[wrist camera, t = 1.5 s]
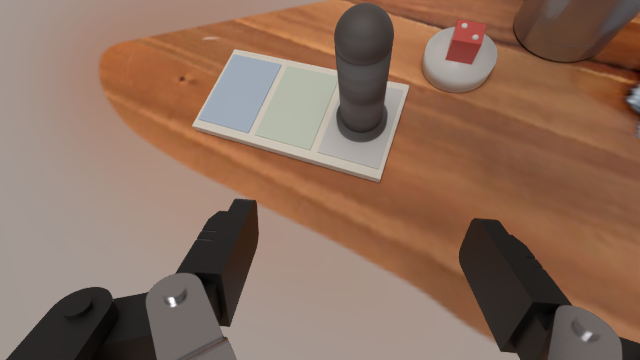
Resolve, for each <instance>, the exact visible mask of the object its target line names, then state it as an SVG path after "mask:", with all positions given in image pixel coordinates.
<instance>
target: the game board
mask: <svg viewBox="0 0 640 360" xmlns="http://www.w3.org/2000/svg"><path fill="white" fill-rule="evenodd" d="M408 89H409V85H405V84H400V83H395V82H390V81H387V88H386V95H385V102H384V104H385V106H386V108H387V112H388V118H387V124H386V127H385V129H384V131H383V133H382V134H381V135H380V136H379V137H377V138H376V139H374V140H372V141H369V142H354V141H351V140H349V139H347V138H345V137H344V136H343V135H342V134H341V133H340V131H339V129H338V126H337V120H336V113H337V109H338V107H339V105H340V98H339V87H338V75H337V70H333V69H328V68H323V67H318V66H313V65H309V64H304V63H299V62H294V61H289V60H285V59H280V58H275V57H270V56H266V55H261V54H256V53H251V52H246V51H242V50H237V49H235V50H234V51H233V53H232V55H231V57H230V59H229V60H228V62H227V64H226V66H225V68H224V69H223V71H222V73H221V75H220V77H219V78H218V80H217V82H216V84H215V86H214V87H213V89H212V91H211V93H210V94H209V96H208V98H207V100H206V102H205V103H204V105H203V107H202V109H201V111H200V112H199V114H198V116H197V118H196V120H195V121H194V123H193V125H192V126H193V127H194V128H195V129H196V130H197V131H201V132H204V133H208V134H211V135H215V136H218V137H222V138H225V139H228V140H232V141H235V142H239V143H242V144H246V145H249V146H253V147H256V148H260V149H263V150H267V151H270V152H274V153H277V154H280V155H284V156H287V157H291V158H294V159H298V160H301V161H305V162H308V163H312V164H315V165H319V166H322V167H326V168H329V169H332V170H336V171H339V172H343V173H346V174H350V175H353V176H357V177H360V178H364V179H367V180H371V181H374V182H377V183H380V179H381V176H382V173H383V170H384V167H385V163H386V160H387V157H388V154H389V151H390V147H391V144H392V141H393V138H394V135H395V131H396V128H397V125H398V122H399V119H400V115H401V112H402V109H403V106H404V102H405V99H406V96H407V93H408Z"/></svg>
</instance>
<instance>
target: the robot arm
mask: <svg viewBox="0 0 640 360" xmlns="http://www.w3.org/2000/svg"><path fill="white" fill-rule="evenodd" d="M639 12H640V0H525V1H524V3H523V5H522V7H521V8H520V10H519V12H518V14H517V16H516V17H515V21H514V31H515V34H516V36H517V38H518V39H519V41H520V42H521V44H522V45H524V46H525V47H526V48H527V49H528V50H530V51H531V52H533V53H534V54H536V55H538V56H541V57H543V58H546V59H550V60H554V61H562V62H573V61H580V60H584V59H587V58H590V57H592V56H594V55H596V54H597V53H598V52H600V51H601V50H602V49H603V48H604V47H605V46H606V45H607V44H608V43H609V42H610V41H611V40H612V39H613V38H614V37H615V36H616V35H617V34H618V33H619V32H620V31H621V30H622V29H623V28H624V27H625V26H626V25H627V24H628V23H629V22H630V21H631V20H632V19H633V18H634V17H635V16H636V15H637V14H638V13H639ZM258 235H259V231H258V215H257V202H256V200H248V199H235V200H234V201H233V203H232V205H231V207H230V209H229V210H228V211H219V212H217V213H216V214H215V215H213V216H212V217H211V218H209V219H208V221H207V223H206V224H205V226H204V228H203V229H202V231H201V232H200V234H199V236H198V237H197V240H196V241H195V242H194V244H193V245H192V247H191V249H190V250H189V252H188V254H187V255H186V257H185V259H184V260H183V262H182V263H181V265H180V267H179V268H178V270H177V272H176V273H175V274H173V275H170V276H168V277H165V278H163V279H162V280H160V281H159V282H157V283H156V284H155V285H154V286H153V287H152V288H151V289H150V291H149V292H147V293H143V294H138V295H133V296H127V297H122V298H116V299H113V298H112V295H111V293H110V292H109V291H108V290H106V289H104V288H100V287H91V288H85V289H82V290H79V291H76V292H74V293H71V294H70V295H68V296H66V297H64V298H63V299H61V300H60V301H59V302H57V304H55V305H54V306H53V307H52V308H51V309H50V310H49V311H48V312H47V314H46V315H45V316H44V317H43V318H42V319H41V320H40V321H39V323H38V324H37V325H36V326H35V327H34V328H33V330H32V331H31V332H30V333H29V334H28V335H27V336H26V337H25V339H24V340H23V341H22V342H21V343H20V344H19V345H18V347H17V348H16V349H15V350H14V351H13V352H12V353H11V355H10V356H9V357H8V358H7V359H6V360H237V359H236V356H235V354H234V352H233V349H232V347H231V344H230V343H229V341H228V339H227V338H226V337H224V336H223V334H222V331H221V329H220V326H227V327H230V325H231V322H232V319H233V316H234V313H235V310H236V307H237V304H238V301H239V298H240V295H241V292H242V289H243V286H244V283H245V281H246V278H247V274H248V272H249V269H250V266H251V263H252V260H253V257H254V254H255V251H256V248H257V243H258ZM459 262H460V265H461V268H462V270H463V272H464V274H465V276H466V278H467V281H468V283H469V285H470V287H471V289H472V291H473V293H474V296H475V298H476V300H477V302H478V304H479V306H480V308H481V311H482V313H483V315H484V317H485V319H486V321H487V323H488V326H489V328H490V330H491V332H492V334H493V336H494V338H495V340H496V343H497V345H498V347H499V349H500V351H501V352H511V353H517V354H518V356H519V358H520V360H640V344H639V343H636V342H633V341H630V340H627V339H624V338H621V337H618V335H617V334H616V333H615V331H614V330H613V329H612V328H611V327H610V326H609V325H608V324H607V323H606V322H605V321H603V320H602V319H601V318H599V317H598V316H596V315H595V314H593V313H591V312H589V311H587V310H585V309H582V308H579V307H576V306H573V305H572V304H571V303H570V302H569V300H568V299H567V298H566V296H565V295H564V294H563V293H562V291H561V290H560V289H559V287H558V286H557V285H556V284H555V282H554V281H553V280H552V278H551V277H550V276H549V275H548V273H547V272H546V271H545V270H543V269H542V266H541V264H540V263H539V262H538V261H537V260H535V257H534V255H533V254H532V253H531V252H530V250H529V249H528V248H527V246H526V245H524V244H523V243H522V242H521V241H519V240H518V239H517V238H515V237H514V236H513V235H509V234H508V232H507V231H506V230H505V228H504V227H503V226H502V224H501V223H500V222H499V221H498V220H492V219H479V218H475V219H473V220H472V221H471V223H470V225H469V228H468V230H467V233H466V235H465V238H464V240H463V243H462V245H461V248H460V251H459Z"/></svg>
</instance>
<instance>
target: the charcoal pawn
mask: <svg viewBox="0 0 640 360" xmlns="http://www.w3.org/2000/svg"><path fill="white" fill-rule="evenodd" d="M393 38H394V30H393V25H392V21H391V19H390V17H389V16H388V14H387V13H386V12H385V11H384V10H383V9H382V8H380V7H379V6H377V5H374V4H370V3H362V4H358V5H355V6H353V7H351V8H350V9H348V10H347V11H346V12H345V13H344V14H343V15H342V16H341V18H340V19H339V21H338V23H337V26H336V29H335V34H334V42H335V53H336V64H337V75H338V87H339V98H340V105H339V107H338V109H337V113H336V120H337V126H338V129H339V131H340V133H341V134H342V135H343V136H344V137H345V138H347V139H349V140H351V141H354V142H369V141H372V140H374V139H376V138H377V137H379V136H380V135H381V134H382V133H383V131H384V129H385V127H386V124H387V118H388V112H387V108H386V106H385V104H384V102H385V95H386V88H387V81H388V74H389V67H390V60H391V53H392V46H393Z"/></svg>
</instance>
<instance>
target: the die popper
mask: <svg viewBox="0 0 640 360" xmlns="http://www.w3.org/2000/svg"><path fill="white" fill-rule="evenodd" d="M485 29H486V24H484V23H477V22H471V21H464V20H458V22H457V24H456V27H451V28H447V29H444V30H442V31H440V32H438V33H436V34H435V35H434V36H433V37H432V38H431V39H430V40H429V42H428V43H427V46H426V49H425V53H424V57H423V60H422V71H423V74H424V76H425V78H426V79H427V80H428V82H429V83H431V84H432V85H433V86H435V87H436V88H438V89H440V90H443V91H446V92H451V93H463V92H468V91H471V90H474V89H476V88H478V87H479V86H480V85H482V84H483V83H484V81H485V80H486V79H487V77H488V75H489V74H490V72H491V70H492V69H493V67H494V65H495V63H496V61H497V56H498V55H497V48H496V46H495V44H494V42H493V41H492V40H491V39H490V38H489V37H488V36H487V35H486V34H484V33H485Z"/></svg>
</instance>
